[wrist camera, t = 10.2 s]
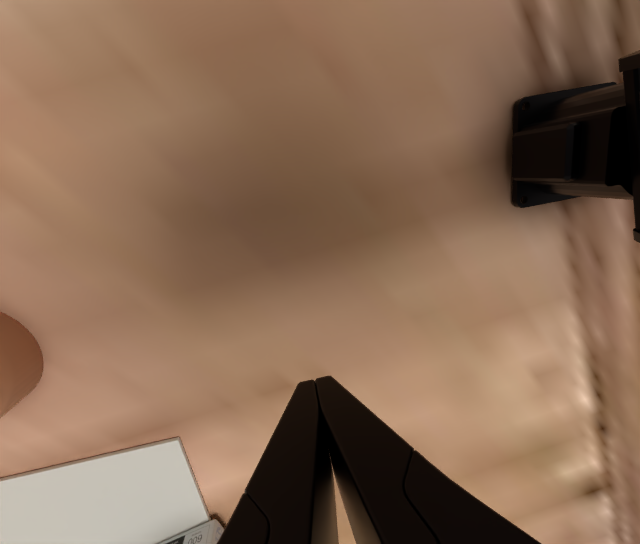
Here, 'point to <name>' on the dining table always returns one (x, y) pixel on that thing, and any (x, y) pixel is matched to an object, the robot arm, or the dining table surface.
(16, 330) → the tan smooth round cylinder
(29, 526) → the mat
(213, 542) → the light bulb box
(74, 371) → the dining table surface
